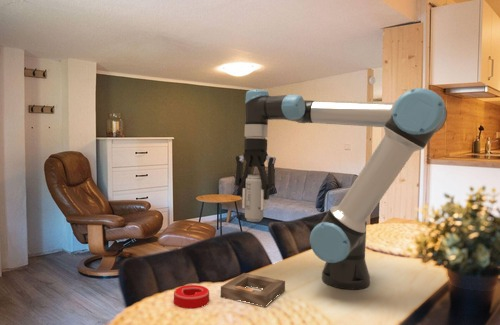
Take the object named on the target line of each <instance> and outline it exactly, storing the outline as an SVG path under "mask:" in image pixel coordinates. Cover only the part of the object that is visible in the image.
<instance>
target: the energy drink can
mask: <svg viewBox="0 0 500 325" xmlns="http://www.w3.org/2000/svg"><path fill="white" fill-rule="evenodd" d="M261 190H263V185H262V181H261V177H260V173H259V174H256V173H255V174H254V173H253V174H251V173H250V174H248V177H247V178H246V189H245V208H244V218H245V219H246V221H247V222H251V223H252V222H254V223H255V222H256V223H257V222H258V223H259V222H261V221H262V219H263V218H264V210H261Z"/></svg>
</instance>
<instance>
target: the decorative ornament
mask: <svg viewBox="0 0 500 325" xmlns="http://www.w3.org/2000/svg"><path fill="white" fill-rule="evenodd" d="M208 302H209V303H210V290H209V288H207V287H205V286H203V285H198V284H189V285H182V286H179V287H177V288H176V289H175V290H174V291H173V304H174V305H175V307H179V308H181V309H187V310H188V309H199V308H202V306H203V307H205V306H207V305H208V304H209V303H208ZM207 303H208V304H207ZM206 304H207V305H206ZM204 305H205V306H204Z"/></svg>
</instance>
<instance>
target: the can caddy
mask: <svg viewBox="0 0 500 325" xmlns="http://www.w3.org/2000/svg"><path fill="white" fill-rule="evenodd" d="M246 286H252V287H258V288H263V290H261V289H260V290H259V289H255V288H252V287H246ZM245 287H246V288H245ZM285 291H286V280H283V279H277V278H273V277H266V276H262V275H256V274H252V273H247V272H243V273H241V274H240V275H238V276H236V277H235V278H233V279H231V280H229V281H228V282H226V283H224V284H223V285H221V286H220V298H223V297H225V298H224V299H227V298H230V299H229V300H231V299H235V300H241V301H246V302H250V303H254V304H258V305H262V306H266V305H267V304H268V303H269V302H270V301H271V300H273V299H274V298H275V297H276V296H277V295H279V294H280V295H281V294H283V293H284V292H285ZM280 295H279V296H280ZM235 300H234V301H235ZM273 301H274V300H273ZM266 307H267V306H266Z"/></svg>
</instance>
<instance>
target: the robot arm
mask: <svg viewBox="0 0 500 325" xmlns="http://www.w3.org/2000/svg"><path fill="white" fill-rule="evenodd" d="M244 101H245V103H244V107H245V109H244V111H245V112H244V114H245V115H244V118H245V119H244V121H245V122H244V135H243V136H244V137H245V138H244V143H243V144H244V146H243V148H244V152H243V154H242V155H236V156H235V160H236V169H235V170H236V174H235V184H234V185H235V186H237V187H239V188H240V193H239V194H240V198H242V200H241V202H242V203H241V205H242V209H245V189H246V178H247V177H248V174H251V173H252V170H253V168H254V167H255V168H257V170H258V172H259V175H260V177H261V181H262V185H263V190H261V210H263V211H264V210H266V209H267V200H269V199H270V190H271V189H274V188H275V187H276V179H275V176H276V175H275V174H276V173H275V163H276V160H277V159H276V157H274V156H273V157H272V156H270V155H268V139H267V137H268V127H269V126H268V125H269V124H268V123H269V121H270V120H271V121H272V120H276V121H277V120H278V121H279V120H281V121H282V120H286V121H291V122H295V123H298V124H325V125H339V126H340V125H341V126H343V125H344V126H356V127H357V126H359V127H375V128H383V129H384V133H385V134H384V136H383V138H382V139H381V140H380V142H379V144H377V146H376V148H375V150H374V151H373V152H372V154H371V156H370V157H369V159H368V160H367V162H366V164H364V167H363V168H362V169H361V171H360V172H359V173H358V174H359V175H358V176H357V177H356V179H355V180H354V181H353V183H352V184H351V186H350V188H349V189H348V191H347V192H346V194H345V195H344V196H343V198H342V200H341V201H340V202H339V204H338V205H335V206H331V207H330V208H329V210H328V211H327V212H326V215H325V216H324V217H323V218H322V221H320V223H319V222H318V223H317V224H316V225H315V226H314V227H313V229H312V230H311V232H310V235H309V244H310V248H311V250H312V252H313V253H314V255H315V256H316V257H317V258H318V259H319V260H321V261H324V262H325V263H324V266H323V269H322V271H321V272H322V273H321V280H322V282H323V283H324V284H327V285H328V286H331V287H334V288H338V289H344V290H362V289H365V288H368V287H369V286H370V284H371V276H370V273H369V269H368V265H367V263H366V244H367V241H366V240H367V239H366V238H367V225H368V222H367V220H368V219H369V217H370V216H371V215H372V213H373V211H374V210H375V209H376V207H377V206H378V205H379V203H380V201H381V200H382V199H383V197H384V196H385V195H386V193H387V191H388V190H389V189H390V187H391V185H392V184H393V183H394V181H395V180H396V179H397V177H398V175H399V174H400V173H401V172H402V170H403V169H404V167H405V165H406V164H407V163H408V161H409V160H410V158H411V157H412V156H413V154H414V152H417V151H422V150H424V149H425V147H426V146H427V145H428V143H429V142H430V140H431V139H432V137H433V136H434V134H436V133H437V132H439V131H440V130H441V129H442V128H443V127H444V126H445V124H446V121H447V119H448V109H447V106H446V104H445V101H444V100H443V98H442V97H441V96H440V94H438V93H437V92H435V91H433V90H431V89H428V88H423V87H422V88H421V87H420V88H419V87H417V88H416V87H415V88H413V89H409V90H408V91H407V90H406V91H405V92H403V93H402V94H400V96H399V97H398V98H397V100H395V101H393V102H384V101H383V102H382V101H381V102H380V101H377V102H376V101H375V102H374V101H373V102H371V101H346V100H345V101H342V100H340V101H339V100H338V101H337V100H305V99H304V98H303V96H302V95H300V94H293V93H291V94H283V95H269V91H267V90H266V89H265V90H264V89H250V90H248V91H246V93H245V100H244ZM244 162H246V163H245V166H244ZM265 162H267V171H266V165H265Z"/></svg>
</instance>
